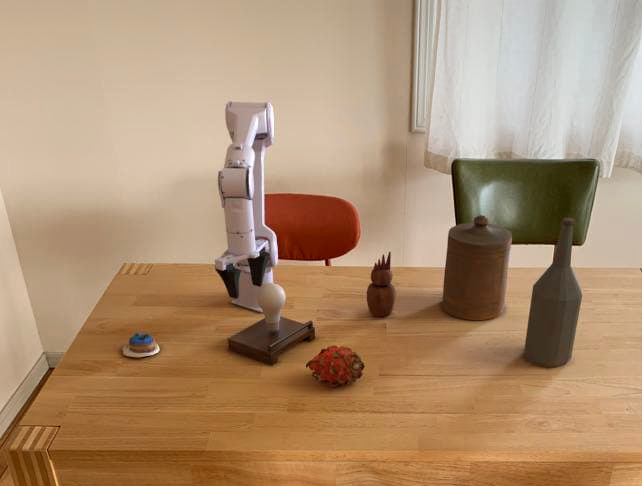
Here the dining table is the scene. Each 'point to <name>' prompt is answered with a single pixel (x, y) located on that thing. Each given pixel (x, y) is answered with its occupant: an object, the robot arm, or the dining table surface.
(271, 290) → the lightbulb
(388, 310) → the wooden figurine
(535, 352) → the bottle
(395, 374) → the dining table surface
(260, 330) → the shelf
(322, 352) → the dragon fruit
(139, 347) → the dessert
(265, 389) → the dining table surface
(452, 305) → the wooden container
